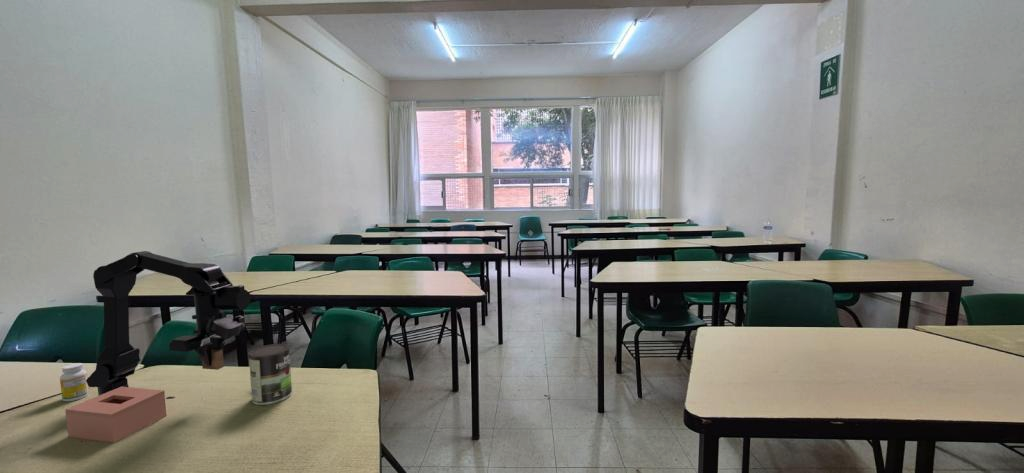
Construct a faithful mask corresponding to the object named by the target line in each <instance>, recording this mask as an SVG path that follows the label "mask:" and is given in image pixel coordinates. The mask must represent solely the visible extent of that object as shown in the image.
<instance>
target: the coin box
mask: <svg viewBox="0 0 1024 473" xmlns="http://www.w3.org/2000/svg"><path fill="white" fill-rule="evenodd" d="M64 411H65V419H66V425H67V426H66V427H67V434H68V437H69V438H75V439H82V440H90V441H91V440H92V441H98V442H99V441H100V442H105V443H106V442H108V443H117V442H118V441H121V440H122V439H124V438H126V437H129V436H130V435H132V434H134V433H136V432H139V431H140V430H142V429H143V427H144V428H145V426H146V427H147V425H148V426H149V424H150V425H151V423H152V424H154V423H155V422H158V421H159V420H161V419H163V418H165V417H167V405H166V395H165V390H161V389H153V388H140V387H119V388H117V389H114V390H112V391H109V392H107V393H104V394H102V395H99V396H98V395H97V396H95V397H92V398H89V399H88V400H85V401H82V402H80V403H78V404H75V405H73V406H70V407H68V408H65V410H64ZM153 422H154V423H153Z"/></svg>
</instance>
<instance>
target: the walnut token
mask: <svg viewBox="0 0 1024 473" xmlns="http://www.w3.org/2000/svg"><path fill="white" fill-rule="evenodd" d="M211 358H212V362H211V366H207V365H206V364H205V362H204V361H203V360H202V359H201V367H202V369H203V370H204V369H205V370H215V371H216V370H217V371H218V370H220V369H222V368H224V367H225V365H224V364H225V363H224V361H225V360H224V350H219V349H211Z"/></svg>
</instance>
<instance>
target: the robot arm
mask: <svg viewBox="0 0 1024 473" xmlns="http://www.w3.org/2000/svg"><path fill="white" fill-rule="evenodd" d="M145 270H148V271H151V272H155V273H159V274H163V275H166V276H170V277H175V278H178V279H180V280H181V281H182V282H183V284H186V285H187V286H190V289H189V290H188V291H187V292H186V293H185V295H186V296H193V298H194V310H195V311H194V312H195V314H192V315H191V319H192V320H196V321H195V322H196V328H195V329H193V330H192V332H193V334H194V335H185V334H183V335H182V336H178V337H176V338H173V339H171V340H170V341H169V343H168V346H169V347H168V349H169V351H170V352H171V351H173V352H183V353H185V352H186V353H187V352H191V351H194V352H196V354H197V355H198V357H199V358H200V359H201V361H202V360H203V361H204V362H205V364H206V365H207V366H211V362H212V358H211V349H219V350H223V349H224V347H225V345H226V344H227V342H228V341H229V340H230V339H231V338H232V337H235V336H236V337H237V336H239V335H240V333H241V332H242V331H245V330H247V325H246V324H247V323H246V321H245V316H243V315H237V316H235V317H230V318H228V317H227V313H226V311H245V310H246V309H247V308H249V305H250V303H251V295H250V293H249V291H248V290H247V289H245V285H244V284H243V285H242V284H240V285H233V283H232V282H231V280H230V279H229V278H228V277H227V276H226V274H224V272H223V270H222V268H221V266H219V265H218V264H215V263H205V262H200V263H198V262H197V263H194V262H193V263H192V262H186V261H182V260H179V259H176V258H175V259H174V258H171V257H167V256H164V255H159V254H157V253H152V252H150V251H147V250H142V251H136V252H130V253H128V255H126V256H124V257H122V258H119V259H117V260H115V261H113V262H110V263H108V264H106V265H101V266H98V268H96V269H95V270H94V271H93V276H92V277H93V282H94V287H95V289H96V290H97V291H98V293H100V295H101V296H102V297H103V298H102V299H103V322H104V323H103V324H104V325H103V329H104V347H103V349H102V351H101V352H100V354H99V355H98V357H97V358H96V359H97V360H96V366H95V370H94V371H93V372H92V373H91V374H90V375H89V376H87V380H86V382H87V384H88V388H97V396H99V395H102V394H104V393H107V392H109V391H112V390H114V389H117V388H119V387H129V383H128V381H129V380H128V378H127V377H129V376H132V375H134V374H135V372H136V368H137V367H138V366H139V362H141V358H140V351H141V350H140V348H135V347H133V345H132V344H131V343H130V315H129V314H130V310H129V295H130V293H131V292H132V290H133V289H134V286H135V285H136V281H137V275H138V274H140V273H142V272H143V271H145ZM223 351H224V350H223Z"/></svg>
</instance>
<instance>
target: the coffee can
mask: <svg viewBox="0 0 1024 473" xmlns="http://www.w3.org/2000/svg"><path fill="white" fill-rule="evenodd" d="M290 349H291V347H290V345H289V344H286V343H273V344H266V345H262V346H258V347H256V348H253V349H251V350H250V351H249V352H248V353H247V355H248V361H249V375H250V376H249V378H250V390H251V393H250V394H251V403H252V404H254V405H257V406H265V405H268V406H269V405H273V404H277V403H281V402H283V401H285V400H286V399H288V398H289V397H291V396H292V394H293V388H292V385H293V384H292V370H291V369H292V368H291V354H290Z"/></svg>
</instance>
